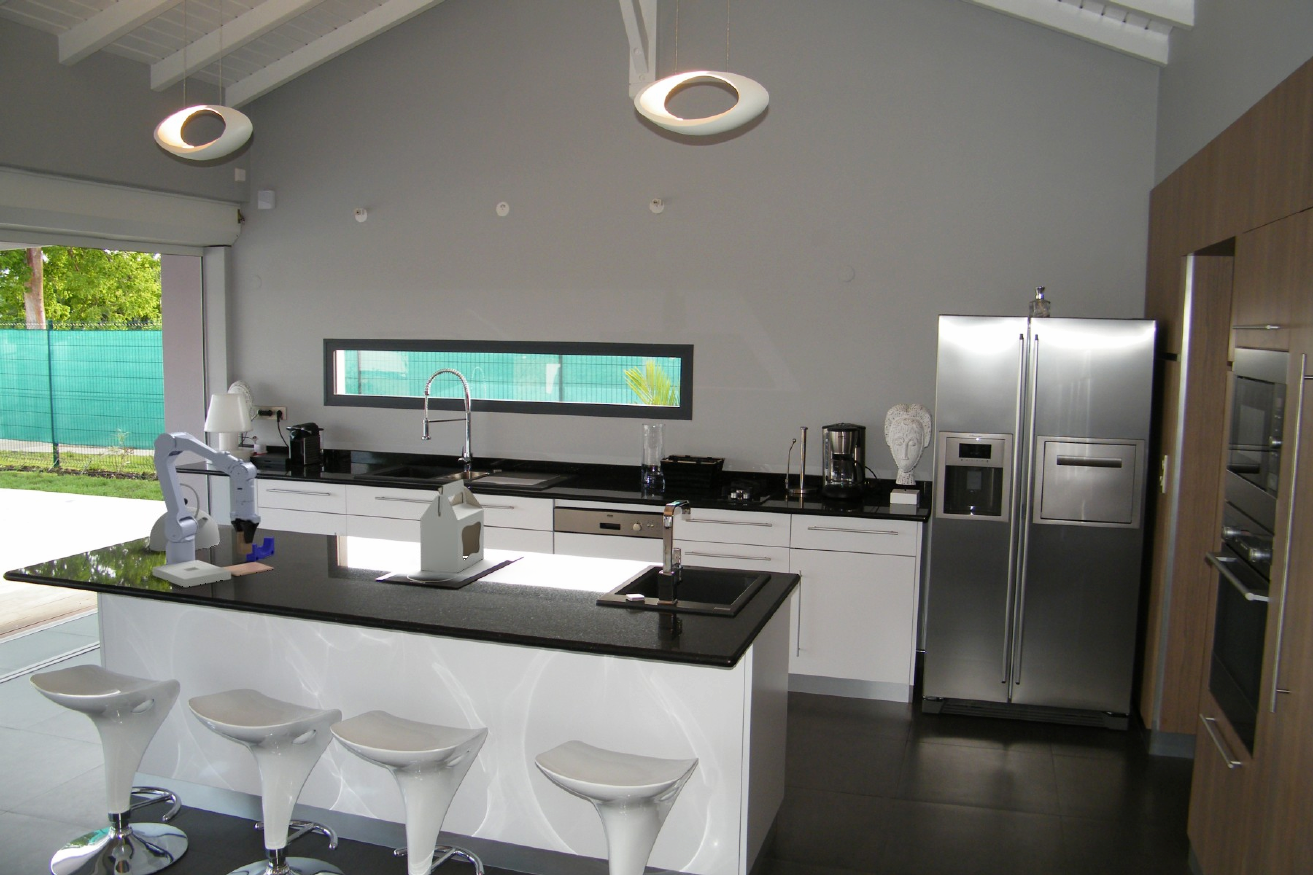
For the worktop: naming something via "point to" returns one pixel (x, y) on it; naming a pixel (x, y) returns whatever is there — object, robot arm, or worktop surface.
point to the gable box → (452, 530)
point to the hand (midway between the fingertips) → (245, 542)
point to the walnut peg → (243, 544)
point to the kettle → (203, 537)
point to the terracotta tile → (247, 568)
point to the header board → (191, 573)
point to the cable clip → (262, 550)
